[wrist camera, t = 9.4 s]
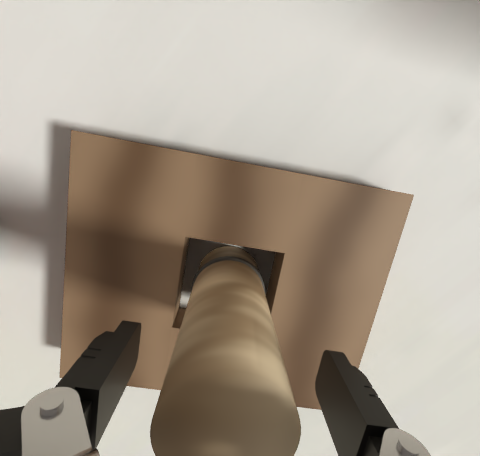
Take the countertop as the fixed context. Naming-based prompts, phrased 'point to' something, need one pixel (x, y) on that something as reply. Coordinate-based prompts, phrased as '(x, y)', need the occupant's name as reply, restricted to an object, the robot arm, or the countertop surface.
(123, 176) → the walnut board
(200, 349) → the beech peg
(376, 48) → the countertop surface
